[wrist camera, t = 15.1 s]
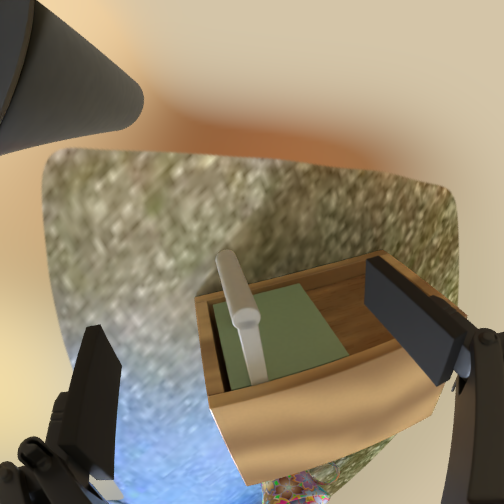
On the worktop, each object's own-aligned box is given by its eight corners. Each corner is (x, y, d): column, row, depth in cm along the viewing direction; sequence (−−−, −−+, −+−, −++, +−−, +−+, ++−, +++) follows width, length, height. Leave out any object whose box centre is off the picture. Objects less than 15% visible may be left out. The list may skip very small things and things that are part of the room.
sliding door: (196, 240, 23) (208, 316, 14) (292, 218, 24) (355, 277, 15) (214, 312, 26) (234, 401, 17) (299, 290, 27) (351, 366, 18)
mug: (266, 468, 41) (284, 523, 32) (230, 453, 37) (245, 517, 28) (331, 433, 40) (358, 488, 31) (302, 413, 36) (332, 479, 27)
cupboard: (194, 296, 26) (209, 408, 16) (382, 248, 29) (468, 315, 18) (223, 390, 32) (246, 486, 21) (375, 343, 34) (431, 415, 23)
